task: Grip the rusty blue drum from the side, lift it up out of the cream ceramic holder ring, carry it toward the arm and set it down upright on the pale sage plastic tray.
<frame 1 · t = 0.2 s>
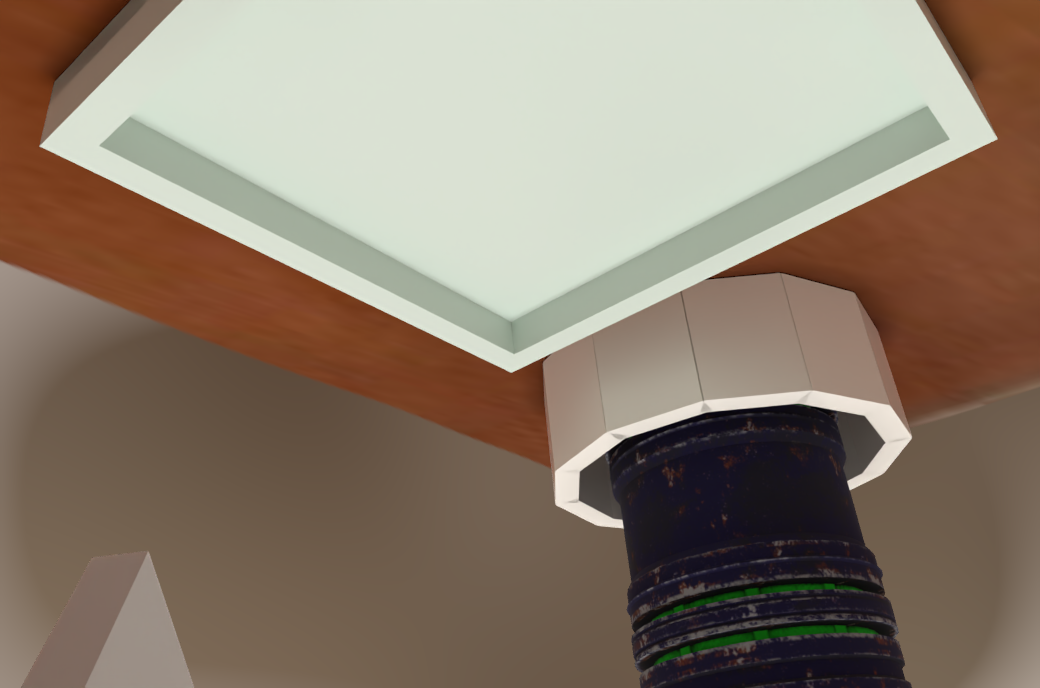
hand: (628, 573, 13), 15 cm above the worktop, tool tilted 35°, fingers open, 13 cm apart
tray: (538, 82, 25), on the worktop
rusty blue drum: (703, 363, 41), resting in holder ring
holder ring: (704, 367, 41), on the worktop
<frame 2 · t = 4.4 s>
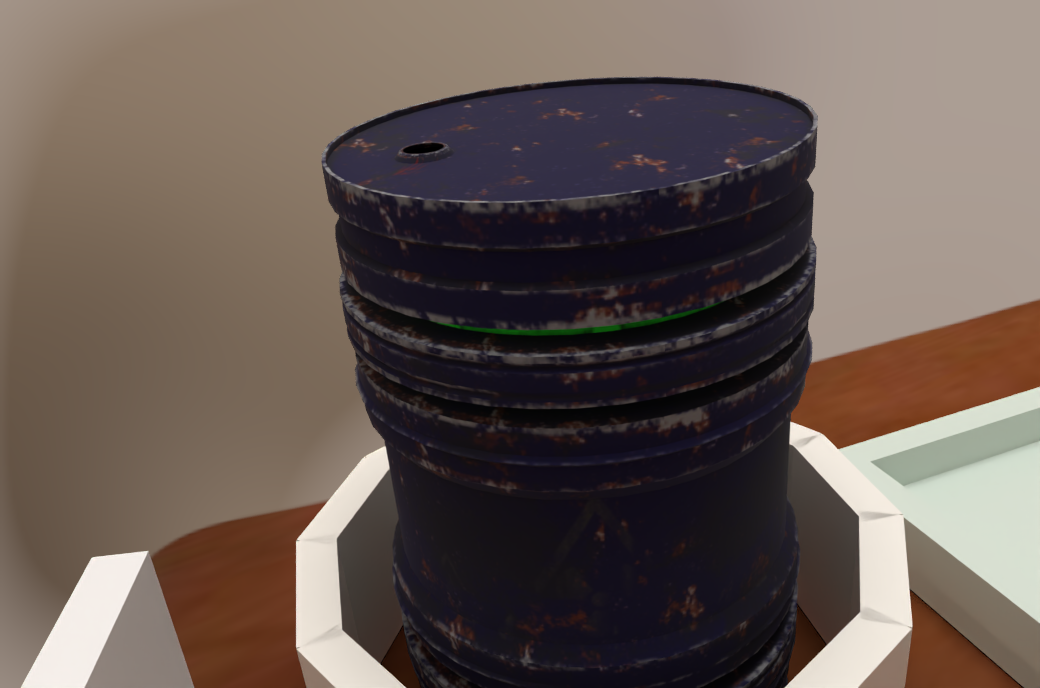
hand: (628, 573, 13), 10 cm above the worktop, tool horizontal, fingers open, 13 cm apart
rusty blue drum: (602, 683, 25), resting in holder ring
holder ring: (601, 677, 25), on the worktop
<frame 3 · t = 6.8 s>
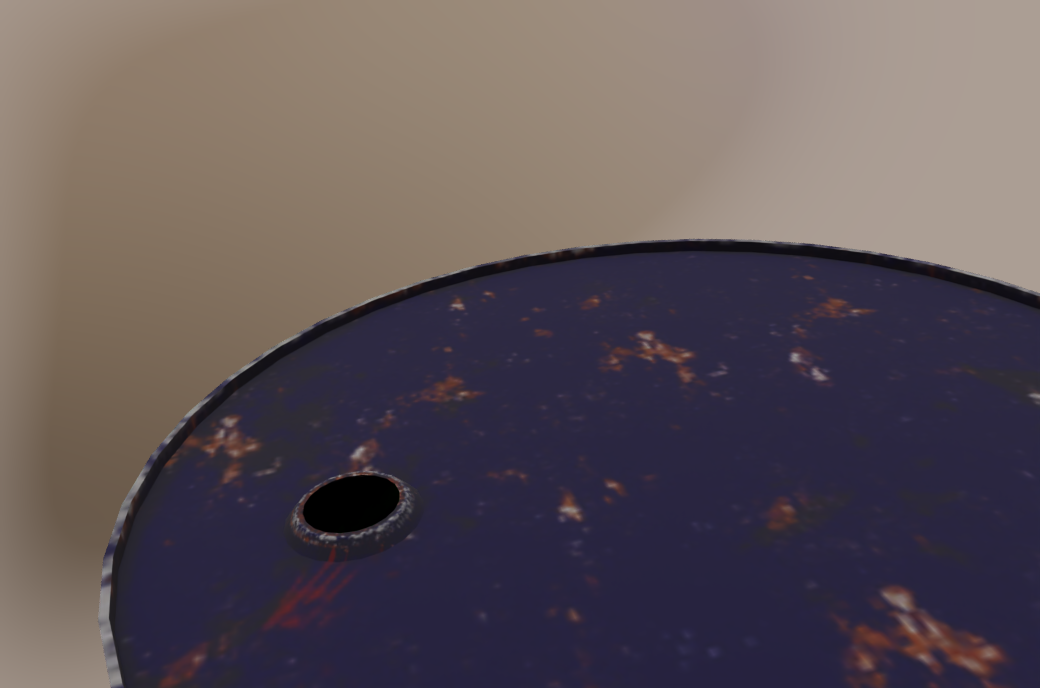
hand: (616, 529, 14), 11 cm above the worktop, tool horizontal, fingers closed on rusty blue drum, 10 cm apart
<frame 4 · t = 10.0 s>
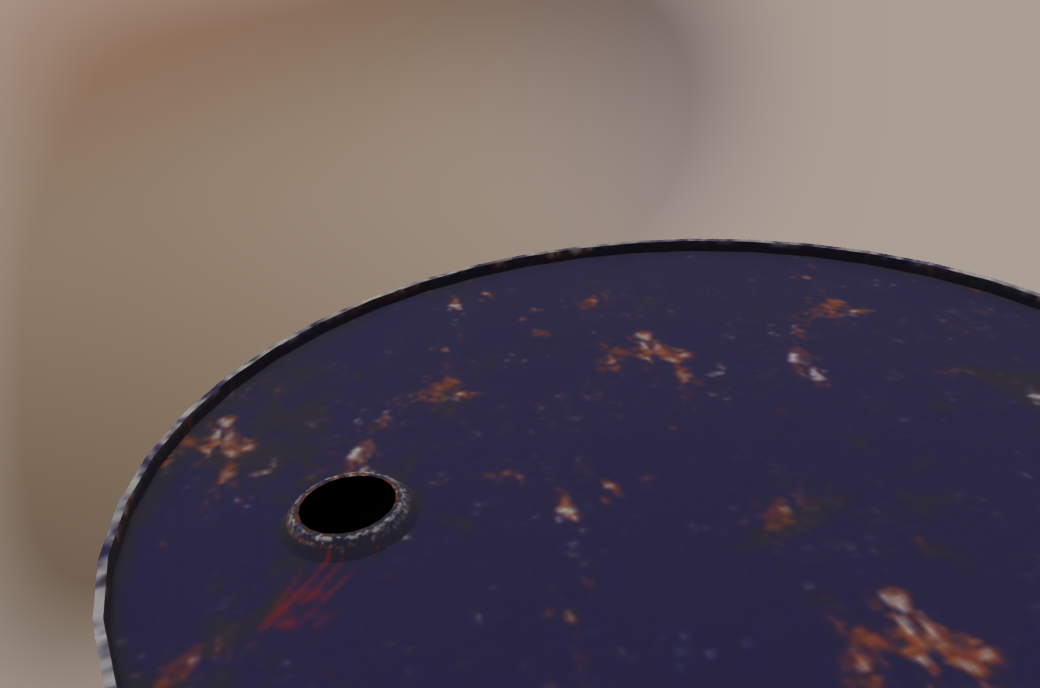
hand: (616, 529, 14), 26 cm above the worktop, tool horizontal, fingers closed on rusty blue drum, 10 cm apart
when the fingers open (13 cm above the worktop, at t = 13.3 s): rusty blue drum drops 1 cm, resting on tray.
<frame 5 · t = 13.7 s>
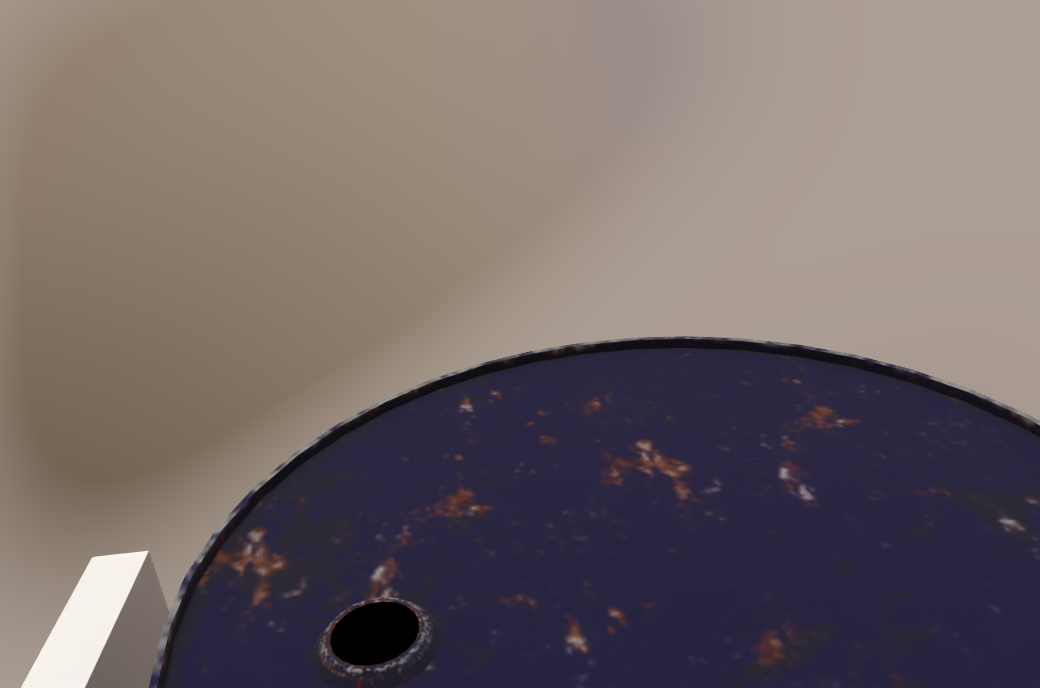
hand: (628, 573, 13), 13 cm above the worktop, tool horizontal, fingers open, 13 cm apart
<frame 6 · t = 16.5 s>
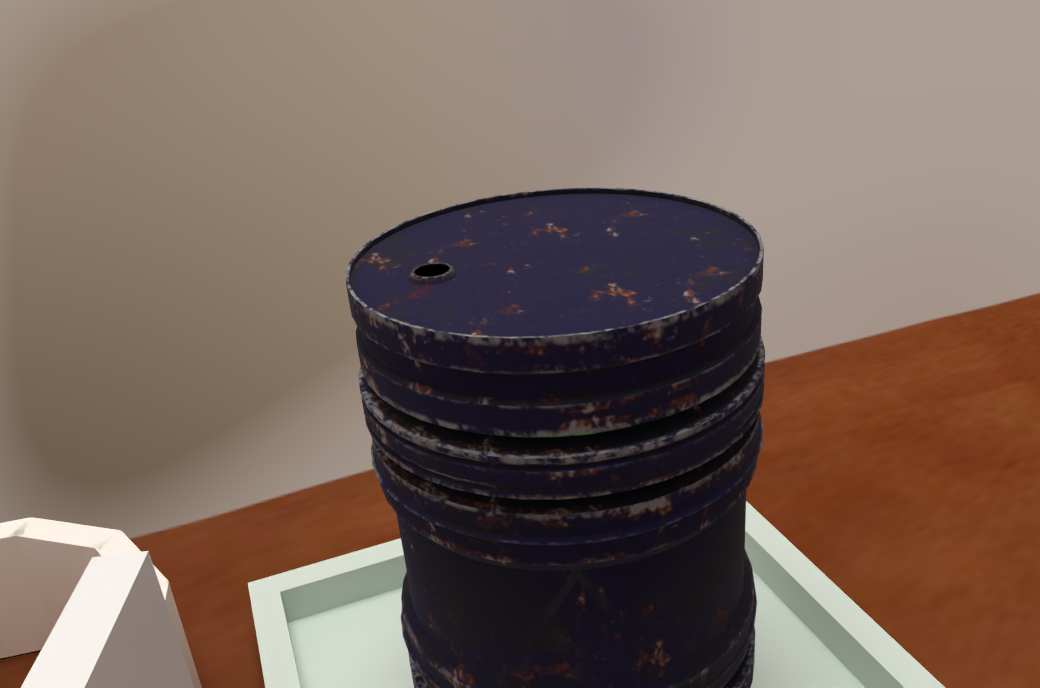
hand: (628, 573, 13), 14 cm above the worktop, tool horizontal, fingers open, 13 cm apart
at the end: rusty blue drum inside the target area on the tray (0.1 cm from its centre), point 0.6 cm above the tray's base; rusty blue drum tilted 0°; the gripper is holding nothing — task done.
